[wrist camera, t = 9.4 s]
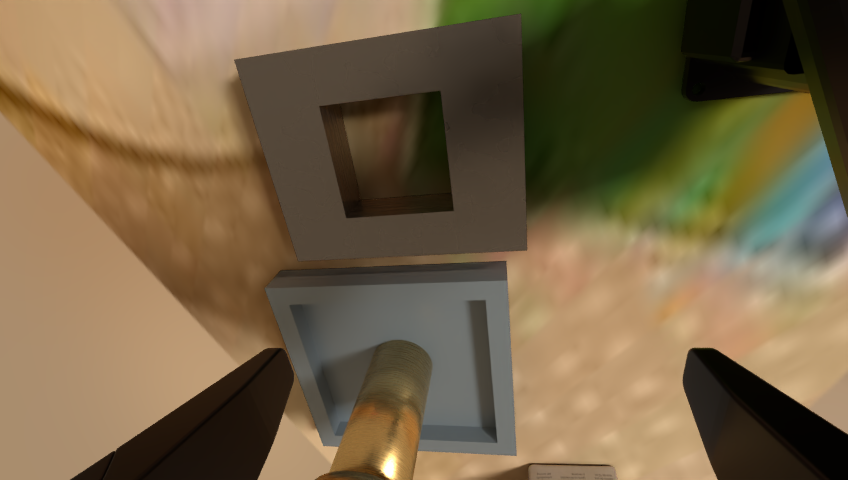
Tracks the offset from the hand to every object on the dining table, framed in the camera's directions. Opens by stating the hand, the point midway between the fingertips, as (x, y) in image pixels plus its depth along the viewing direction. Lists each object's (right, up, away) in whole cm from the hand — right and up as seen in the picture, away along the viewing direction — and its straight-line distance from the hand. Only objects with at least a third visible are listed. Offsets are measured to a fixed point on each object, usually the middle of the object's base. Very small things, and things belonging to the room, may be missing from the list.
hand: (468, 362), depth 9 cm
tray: (-2, -5, +18) cm, 19 cm away
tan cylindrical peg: (-2, -5, +17) cm, 18 cm away
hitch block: (-2, +7, +11) cm, 14 cm away
